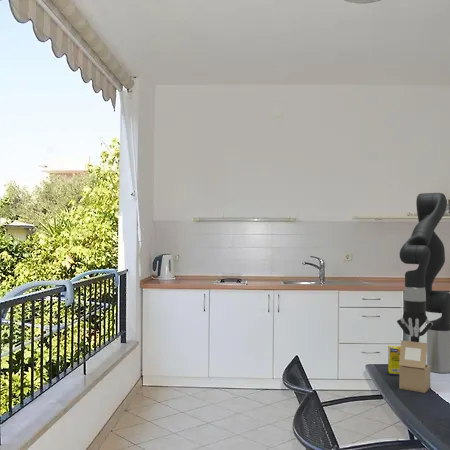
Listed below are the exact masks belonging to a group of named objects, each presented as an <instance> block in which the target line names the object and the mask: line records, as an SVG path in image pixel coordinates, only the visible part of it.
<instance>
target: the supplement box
mask: <svg viewBox="0 0 450 450" xmlns="http://www.w3.org/2000/svg"><path fill="white" fill-rule="evenodd" d="M387 347H388V348H387V349H388V351H387V352H388V353H387V355H388V356H387V357H388V360H387V362H388V363H387V365H388V366H387V372H388V374H389V376H395V377H399V367H400V366H401V365H399V360H400V349H401V345H400V346H399V345H398V346H397V345H388V346H387Z"/></svg>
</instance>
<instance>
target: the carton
mask: <svg viewBox="0 0 450 450" xmlns="http://www.w3.org/2000/svg"><path fill="white" fill-rule="evenodd" d="M398 377H399V378H398V379H399V381H398V384H399V386H398V387H399V388H398V389H399V390H405V391H410V392H417V393H424V394H425V393H427V392H428V390H430V388H431V371H430V365H427V364H426V366H425V369H423V368H416V367H408V366H400V367H399V376H398Z"/></svg>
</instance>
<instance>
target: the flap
mask: <svg viewBox="0 0 450 450" xmlns="http://www.w3.org/2000/svg"><path fill="white" fill-rule="evenodd" d="M400 346H401V349H400V360H399V365H401V366H408V367H416V368H423V369H425V366H426V365H427V342H420V341H419V342H411V341H410V340H400Z"/></svg>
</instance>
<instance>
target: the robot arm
mask: <svg viewBox="0 0 450 450" xmlns="http://www.w3.org/2000/svg"><path fill="white" fill-rule="evenodd" d="M415 203H416V212H417V213H416V214H417V221H418V223H417V224H416V225H415V227H414V228H413V230H412V233H411V235H410V237H409V238H408V239H407V240H406V242H405V243H404V244H403V245H402V246H401V248H400V250H399V259H400V261H401V262H402V263H403V264H406V265H418V266H417V268H416V269H413V270H407V271H406V272H405V273H404V290H403V291H404V292H403V315H402V317H400V318H399V319H398V320H396V323H397V324H398V326H399V327H400V328H401V329H402V331H403V333H405V335H408V336H409V337H410V340H409V341H411V342H420V337H423V336H424V335H425V334H426V343H427V352H426V365H430V372H431V373H437V374H439V373H441V374H446V373H447V374H448V373H450V292H449V291H441V290H433V283H434V281H435V280H436V277H437V275H438V274H439V273H440V271H441V270H442V269H443V267H444V265H445V262H446V256H445V255H446V254H445V253H446V252H445V245H444V242H443V241H442V240H441V238H440V237H439V236H438V234H437V233H436V232H435V229H436V228H437V226H438V225H439V223H440V221H441V220H442V218H443V217H444V215H445V213H446V210H447V208H448V207H447V206H448V205H447V196H446V194H444V193H443V192H424V193H423V192H422V193H419V194H418V195H417V196H416V202H415ZM426 313H433V314H441V316H440V317H438V318H437V319H433V320H429V319H428V316H427V314H426ZM424 324H425V327H424V328H423V329H422V330H421V327H422V326H423V325H424ZM407 326H408V327H407Z"/></svg>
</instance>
